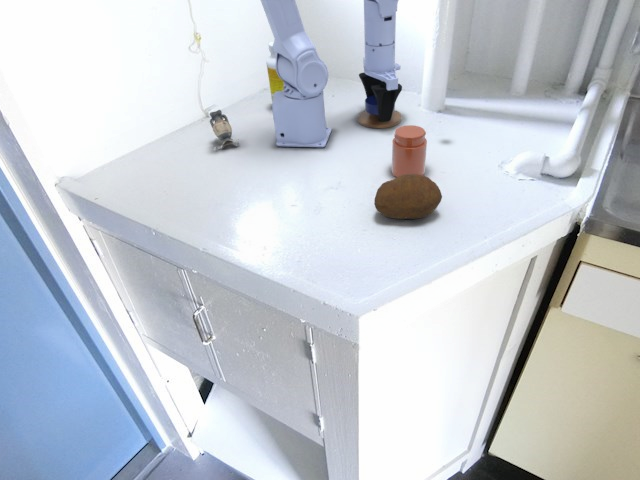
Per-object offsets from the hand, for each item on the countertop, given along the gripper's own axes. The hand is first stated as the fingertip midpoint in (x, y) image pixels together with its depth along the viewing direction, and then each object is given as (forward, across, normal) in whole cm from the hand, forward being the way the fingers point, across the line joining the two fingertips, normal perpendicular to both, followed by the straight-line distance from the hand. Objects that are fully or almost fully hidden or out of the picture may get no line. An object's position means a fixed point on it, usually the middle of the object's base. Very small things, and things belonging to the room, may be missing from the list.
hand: (379, 115), depth 96 cm
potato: (+1, -35, +8) cm, 36 cm away
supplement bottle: (+1, +14, +16) cm, 22 cm away
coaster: (+1, 0, 0) cm, 1 cm away
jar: (+1, -23, +3) cm, 23 cm away
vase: (+1, 0, +32) cm, 32 cm away
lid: (-3, 0, 0) cm, 3 cm away
